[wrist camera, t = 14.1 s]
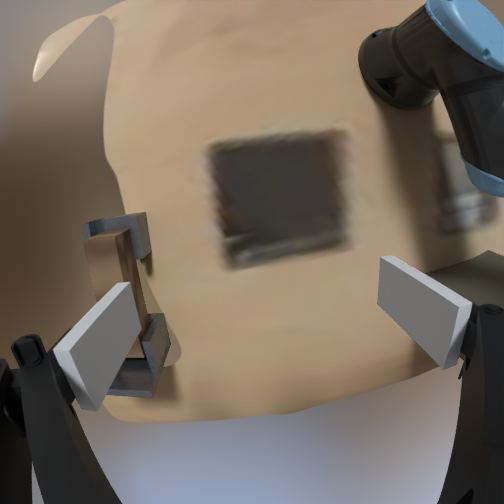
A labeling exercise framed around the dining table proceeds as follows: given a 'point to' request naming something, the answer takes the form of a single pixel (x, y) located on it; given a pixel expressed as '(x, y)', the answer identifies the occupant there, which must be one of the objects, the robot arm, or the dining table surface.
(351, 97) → the dining table surface
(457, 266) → the book
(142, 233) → the saddle block
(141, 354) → the rail
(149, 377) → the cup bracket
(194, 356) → the dining table surface
